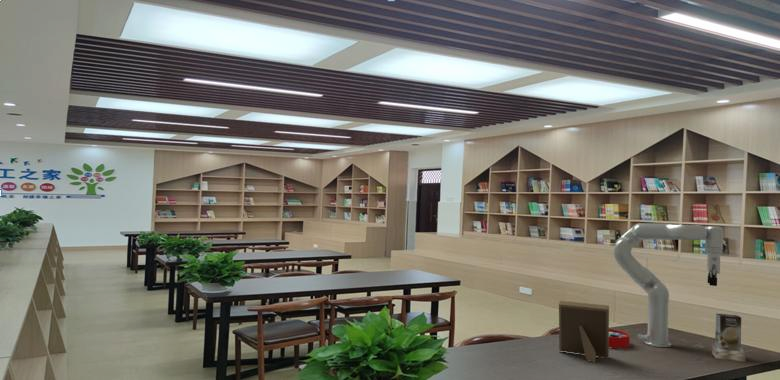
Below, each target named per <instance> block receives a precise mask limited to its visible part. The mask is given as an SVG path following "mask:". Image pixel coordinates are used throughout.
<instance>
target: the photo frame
mask: <svg viewBox="0 0 780 380" xmlns="http://www.w3.org/2000/svg"><path fill="white" fill-rule="evenodd" d="M609 329H610V305H606V304H595V303H586V302H575V301H566V300H559V303H558V335H559V336H558V340H559V341H558V342H559V344H558V345H559V346H558V347H559V348H558V350H560V351H567V352H574V353H580V354H585V356H584V357H585V360H586V359H587V360H590V361H593V362H595V363H596V358H597V357H596V356H598V357H604V358H608V359H609V352H610V351H609V349H610V348H609ZM604 358H603V359H604ZM590 361H589V362H590ZM593 362H592V363H593Z"/></svg>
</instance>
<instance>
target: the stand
mask: <svg viewBox="0 0 780 380" xmlns="http://www.w3.org/2000/svg"><path fill="white" fill-rule="evenodd" d="M711 353H712V355H713V356H714V358H715V359H719V360H720V359H721V360H727V361H736V362H745V363H746V358H747V356H746V352H745V350H743V349H742V348H741V351H735V350H724V349H719V348H717V347H716V346H715V344H711Z"/></svg>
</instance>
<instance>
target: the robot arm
mask: <svg viewBox="0 0 780 380" xmlns="http://www.w3.org/2000/svg"><path fill="white" fill-rule="evenodd" d="M643 240H659V241H660V240H661V241H662V240H664V241H672V240H673V241H674V240H676V241H677V240H678V241H681V240H682V241H685V240H686V241H702V240H704V241H705V244H704V253H705V254H707V257H706V258H707V259H706V267H707V269H706V270H707V284H708V285H709V286H712V287H713V286H714V287H717V286H718V275H720V273H721V255H723V249H724V248H723V246H724V228H723V227H722V226H713V225H709V226H707V225H700V224H689V225H688V224H674V223H655V222H654V223H651V222H650V223H646V222H645V223H644V222H643V223H642V222H641V223H640V222H638V223H635V224H634V225H633V226H632V227H631V228H630V229H629V230H627V231H626V232H625V233H624V234H623V235H621V236H620V237H619V238H618V239H617V240H616V242H615V244H614V249H613V256H614V259H615V261H616V263H617V265H618V266H619V267H620V268H621V269H622V270H623V271H624V272H625V273H626V274H627V275H628V276H629V277H630V279H632V280H633V282H634V283H635V284H636V285H638V286H639V287H640V288H641V289H643V291H644V292H645V293H647V333H646V334H639V333H638V334H637V338H638V339H640V340H641V339H642V340H644V341H643V342H644V344H645V345H647V346H651V347H657V348H658V347H659V348H670V347H672V343H671V342H670V341H669V302H670V300H669V299H670V292H669V289H668V288H667V286H666V285H665V284H664V283H663V282H662V281H661V280H660V279H659V278H658V277H657V276H656V275H655V274H654V273H653V272H652V271H650V270H649V269H648V268H647V267H646V266H643V265H642V264H641V263H640V262H639V261H638V260H637V259H636V257H634V256H633V254H632V250H633V249H634V248H635V247H636V246H637V245H638V244H640V243H641V242H642V241H643Z"/></svg>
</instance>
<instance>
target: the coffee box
mask: <svg viewBox="0 0 780 380" xmlns="http://www.w3.org/2000/svg"><path fill="white" fill-rule="evenodd" d="M714 340H715V342H714V345H715V346H716V347H717V348H719V349H724V350H735V351H741V349H742V317H741V316H740V315H737V314H728V313H715V339H714Z"/></svg>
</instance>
